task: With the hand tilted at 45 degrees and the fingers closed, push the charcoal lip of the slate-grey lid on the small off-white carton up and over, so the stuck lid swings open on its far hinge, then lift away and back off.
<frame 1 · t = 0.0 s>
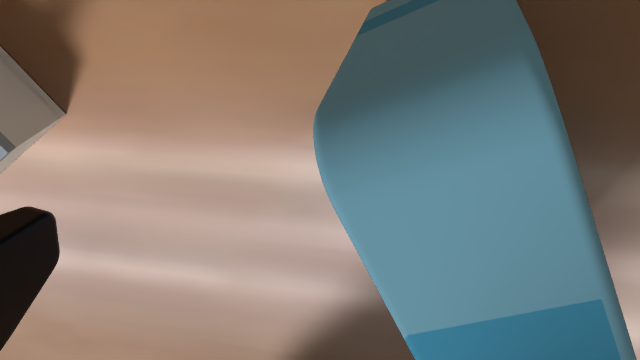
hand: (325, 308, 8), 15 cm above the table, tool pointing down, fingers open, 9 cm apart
data package: (481, 115, 22), on the table
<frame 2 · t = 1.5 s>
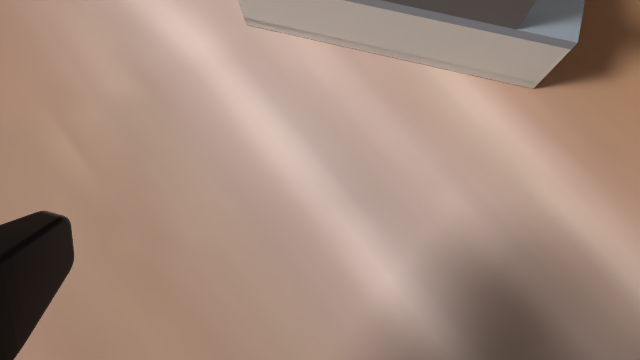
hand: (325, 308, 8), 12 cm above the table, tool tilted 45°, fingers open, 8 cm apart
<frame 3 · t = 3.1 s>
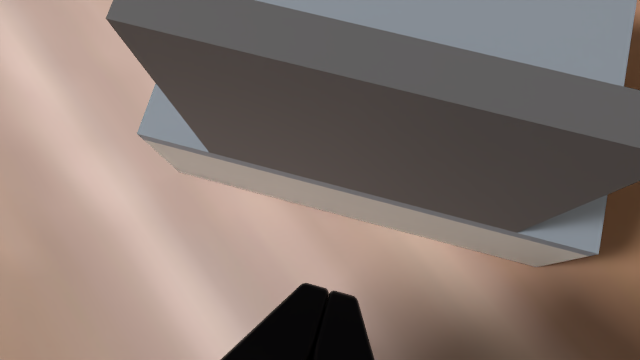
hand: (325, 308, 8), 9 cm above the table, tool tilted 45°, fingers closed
carton: (382, 107, 18), on the table
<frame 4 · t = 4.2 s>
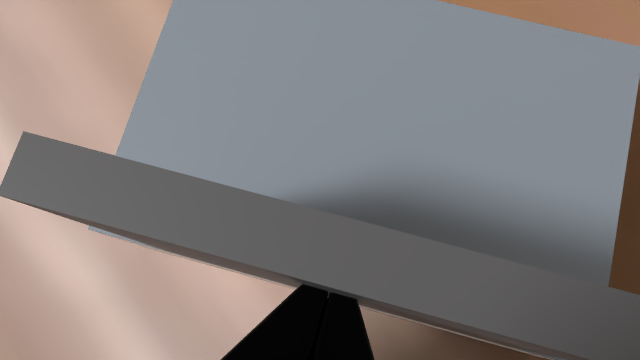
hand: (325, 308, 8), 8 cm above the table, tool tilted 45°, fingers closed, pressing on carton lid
carton: (364, 174, 17), on the table
carton lid: (385, 86, 10), point 7 cm above the table, hinge at 0.0°, touching gripper
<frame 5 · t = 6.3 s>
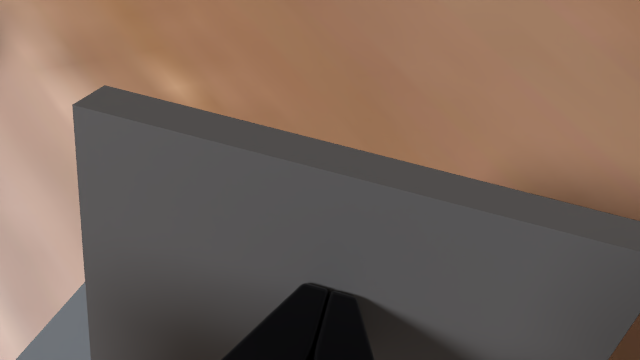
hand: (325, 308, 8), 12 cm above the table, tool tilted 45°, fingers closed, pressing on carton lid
carton lid: (350, 223, 12), point 9 cm above the table, hinge at 44.6°, touching gripper
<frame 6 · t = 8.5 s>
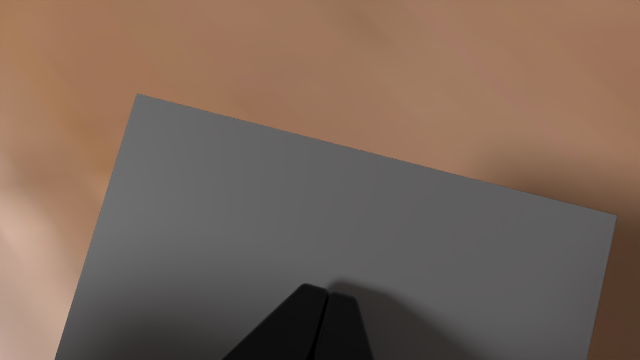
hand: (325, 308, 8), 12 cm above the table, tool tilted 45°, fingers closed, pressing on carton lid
carton lid: (323, 326, 12), point 8 cm above the table, hinge at 81.4°, touching gripper
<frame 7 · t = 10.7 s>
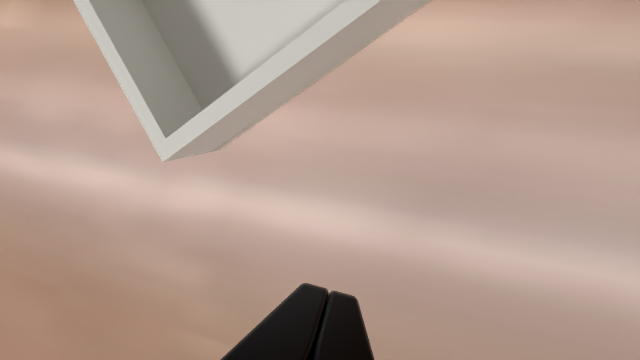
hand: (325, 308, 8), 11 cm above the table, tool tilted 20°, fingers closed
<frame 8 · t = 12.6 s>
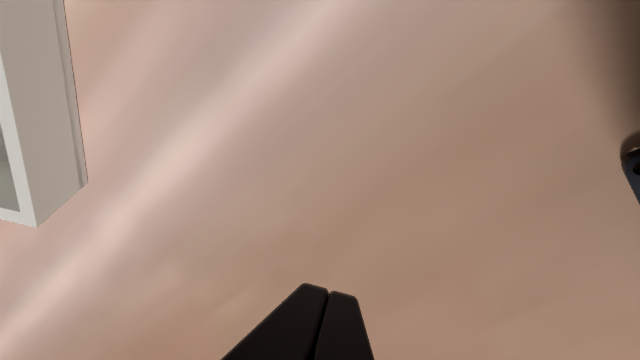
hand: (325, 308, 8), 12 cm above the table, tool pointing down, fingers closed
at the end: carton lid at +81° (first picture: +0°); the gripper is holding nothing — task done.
